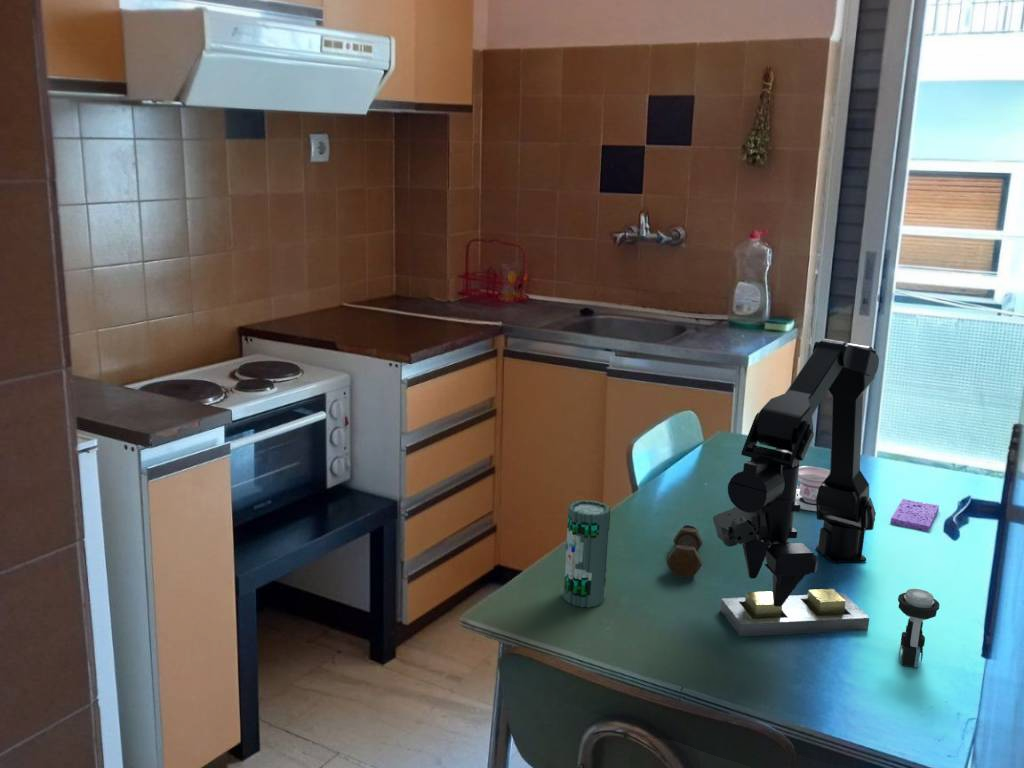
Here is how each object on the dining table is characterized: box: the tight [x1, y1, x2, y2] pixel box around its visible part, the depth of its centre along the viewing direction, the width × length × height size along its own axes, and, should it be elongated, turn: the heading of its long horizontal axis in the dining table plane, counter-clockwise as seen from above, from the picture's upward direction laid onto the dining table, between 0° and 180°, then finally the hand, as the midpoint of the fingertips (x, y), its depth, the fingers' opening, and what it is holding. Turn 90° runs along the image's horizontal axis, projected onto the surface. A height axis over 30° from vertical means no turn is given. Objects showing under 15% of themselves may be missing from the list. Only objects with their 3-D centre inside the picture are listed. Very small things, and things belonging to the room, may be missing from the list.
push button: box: [897, 588, 941, 669], centre depth 138 cm, size 7×5×10 cm
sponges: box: [890, 498, 940, 533], centre depth 192 cm, size 7×13×2 cm, turn 150°
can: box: [563, 499, 612, 609], centre depth 152 cm, size 6×6×15 cm
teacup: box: [795, 465, 830, 512], centre depth 198 cm, size 12×12×6 cm
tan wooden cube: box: [807, 588, 846, 616], centre depth 149 cm, size 4×4×4 cm
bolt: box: [666, 524, 704, 579], centre depth 169 cm, size 6×5×15 cm
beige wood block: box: [744, 590, 782, 619], centre depth 148 cm, size 4×4×4 cm
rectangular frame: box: [719, 593, 870, 637], centre depth 149 cm, size 20×8×2 cm, turn 99°
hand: (764, 591), depth 147 cm, fingers open, 9 cm apart
